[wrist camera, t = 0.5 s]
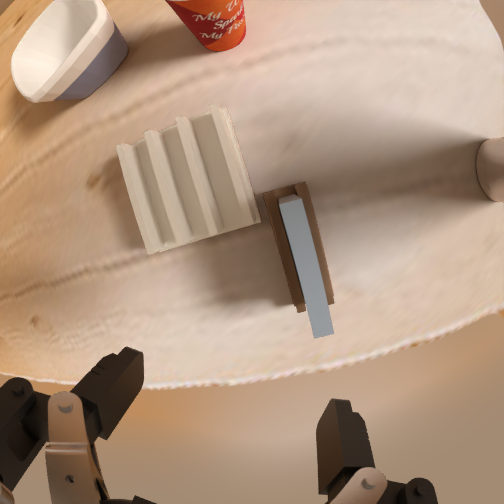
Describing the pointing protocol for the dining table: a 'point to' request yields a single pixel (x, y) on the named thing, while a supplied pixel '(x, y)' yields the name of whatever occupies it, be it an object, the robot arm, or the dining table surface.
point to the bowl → (67, 52)
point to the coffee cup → (213, 21)
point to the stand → (284, 244)
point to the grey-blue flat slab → (306, 264)
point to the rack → (188, 181)
